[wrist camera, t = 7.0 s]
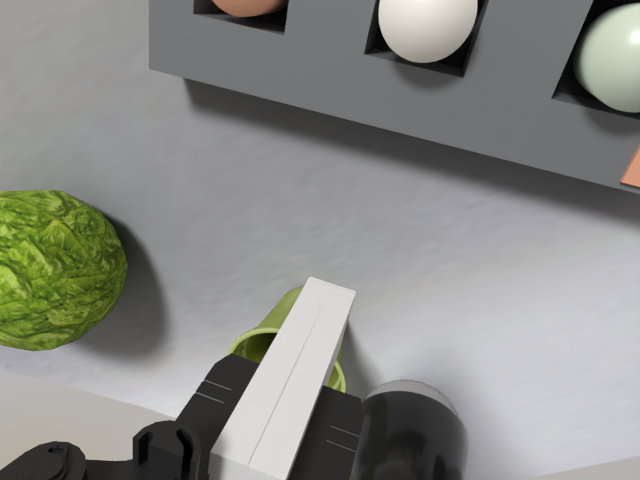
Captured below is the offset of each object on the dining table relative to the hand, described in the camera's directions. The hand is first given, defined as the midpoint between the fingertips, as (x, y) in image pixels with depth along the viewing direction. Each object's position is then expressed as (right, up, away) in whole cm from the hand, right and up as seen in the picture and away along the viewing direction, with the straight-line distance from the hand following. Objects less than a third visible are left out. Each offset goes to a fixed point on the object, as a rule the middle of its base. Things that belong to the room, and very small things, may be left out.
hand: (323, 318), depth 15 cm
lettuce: (-27, +3, +32) cm, 42 cm away
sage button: (+17, +13, +11) cm, 24 cm away
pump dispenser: (+9, -13, +30) cm, 34 cm away
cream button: (+6, +16, +13) cm, 21 cm away
